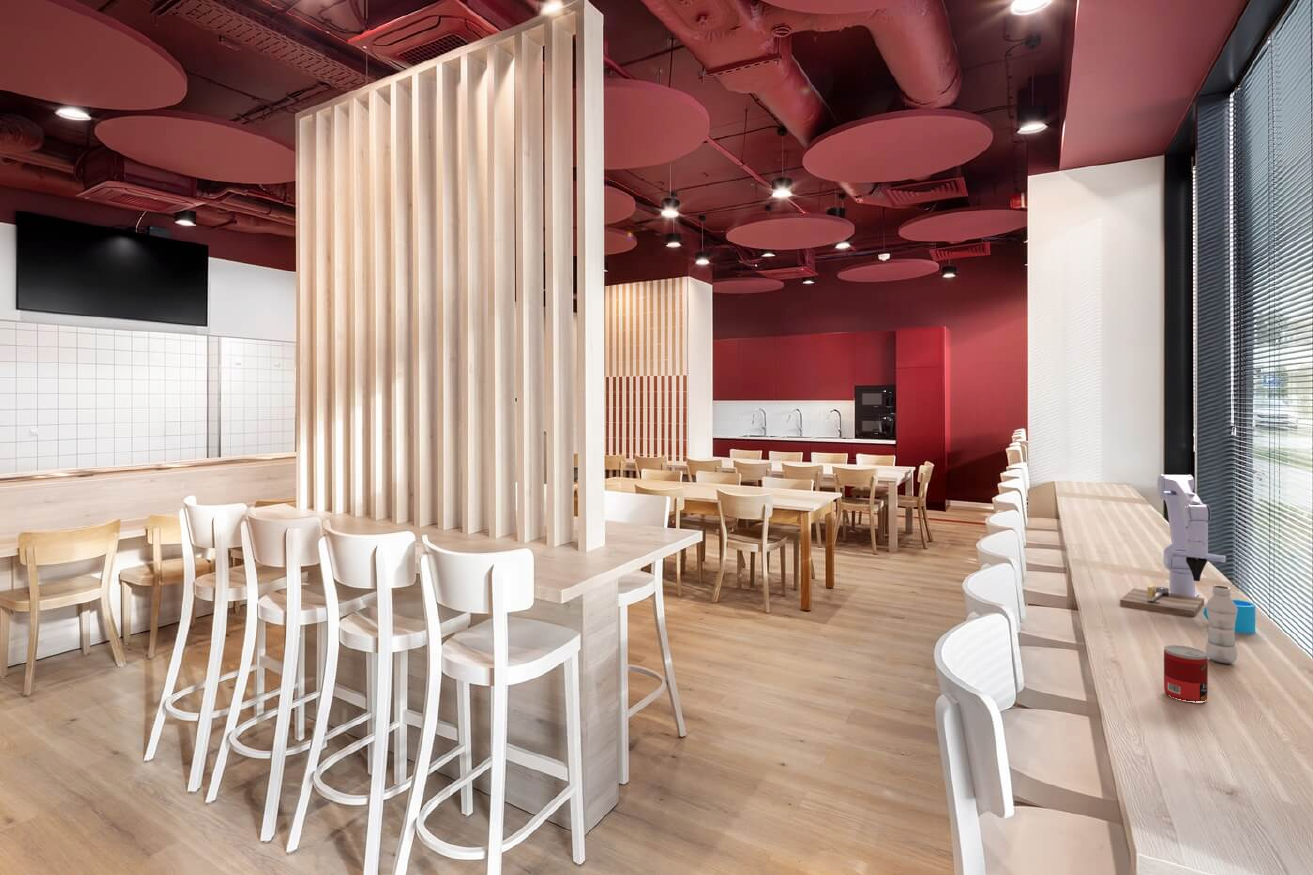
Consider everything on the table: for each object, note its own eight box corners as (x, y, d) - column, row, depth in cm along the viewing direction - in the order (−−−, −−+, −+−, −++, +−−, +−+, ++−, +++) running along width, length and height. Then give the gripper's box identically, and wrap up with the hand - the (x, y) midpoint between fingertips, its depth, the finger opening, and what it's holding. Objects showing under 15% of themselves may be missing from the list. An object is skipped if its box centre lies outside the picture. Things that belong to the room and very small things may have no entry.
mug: (1254, 628, 200) (1254, 601, 200) (1256, 635, 194) (1256, 608, 193) (1203, 621, 208) (1203, 595, 207) (1203, 628, 201) (1203, 601, 201)
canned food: (1210, 706, 149) (1210, 659, 148) (1166, 699, 153) (1166, 653, 153) (1204, 694, 155) (1204, 648, 155) (1162, 687, 159) (1162, 643, 159)
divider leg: (1157, 592, 233) (1157, 578, 233) (1170, 594, 231) (1170, 580, 230) (1142, 600, 224) (1142, 586, 224) (1155, 602, 221) (1155, 588, 221)
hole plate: (1133, 593, 240) (1133, 587, 240) (1204, 604, 225) (1204, 597, 225) (1120, 605, 226) (1120, 599, 226) (1194, 617, 212) (1194, 610, 212)
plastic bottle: (1229, 658, 177) (1229, 584, 176) (1242, 667, 170) (1243, 591, 170) (1200, 656, 179) (1200, 583, 178) (1212, 665, 172) (1212, 589, 172)
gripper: (1167, 539, 223) (1167, 579, 223) (1223, 544, 212) (1223, 586, 213) (1171, 536, 228) (1171, 575, 228) (1226, 541, 217) (1226, 582, 217)
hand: (1196, 580), depth 221 cm, fingers closed
